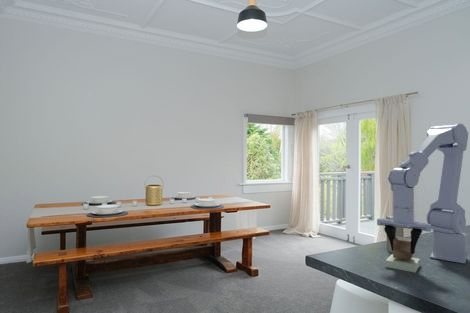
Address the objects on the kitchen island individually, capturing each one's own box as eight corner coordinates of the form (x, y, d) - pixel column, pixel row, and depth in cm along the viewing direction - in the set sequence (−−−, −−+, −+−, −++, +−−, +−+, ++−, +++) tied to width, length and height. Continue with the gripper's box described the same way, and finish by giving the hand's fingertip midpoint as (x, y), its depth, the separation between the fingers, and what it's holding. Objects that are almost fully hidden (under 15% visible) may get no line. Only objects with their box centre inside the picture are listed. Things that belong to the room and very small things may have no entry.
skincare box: (404, 254, 111) (404, 218, 111) (390, 253, 112) (390, 218, 112) (398, 248, 117) (398, 215, 117) (385, 248, 118) (385, 214, 118)
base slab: (419, 265, 99) (419, 258, 99) (415, 272, 93) (415, 265, 93) (391, 260, 104) (391, 253, 104) (385, 266, 98) (385, 260, 98)
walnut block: (412, 256, 99) (412, 238, 99) (410, 260, 95) (410, 241, 95) (396, 253, 102) (396, 236, 102) (393, 257, 98) (393, 239, 98)
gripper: (374, 206, 100) (374, 250, 100) (428, 211, 91) (428, 259, 91) (380, 203, 105) (380, 245, 105) (431, 208, 97) (431, 253, 97)
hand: (402, 251), depth 99 cm, fingers closed on walnut block, 5 cm apart
